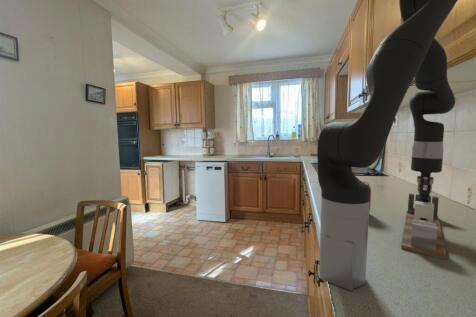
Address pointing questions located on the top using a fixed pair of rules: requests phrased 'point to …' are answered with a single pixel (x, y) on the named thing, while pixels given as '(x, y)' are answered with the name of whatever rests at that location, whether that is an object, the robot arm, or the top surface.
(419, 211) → the sleeve
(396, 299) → the top surface
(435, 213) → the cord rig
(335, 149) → the robot arm
